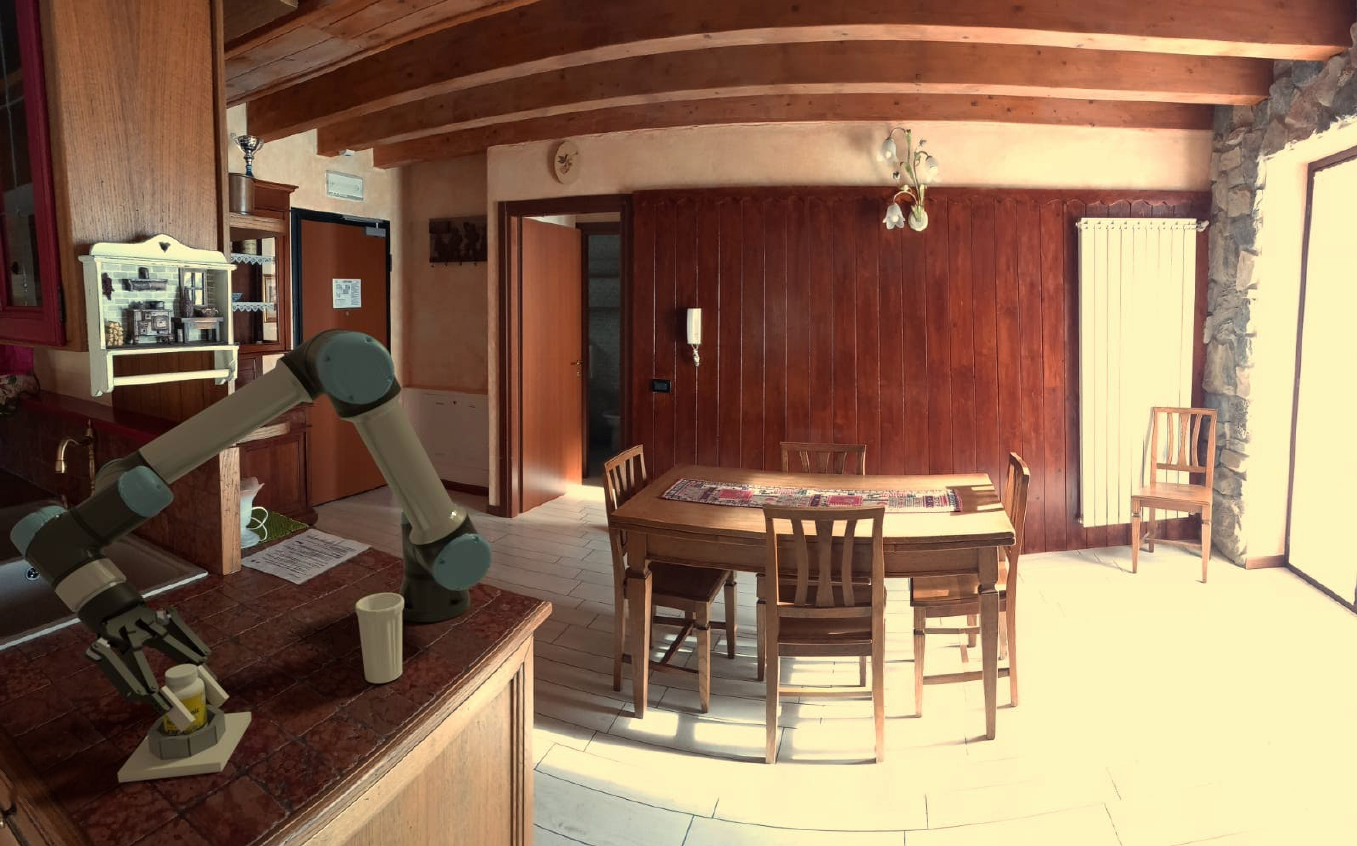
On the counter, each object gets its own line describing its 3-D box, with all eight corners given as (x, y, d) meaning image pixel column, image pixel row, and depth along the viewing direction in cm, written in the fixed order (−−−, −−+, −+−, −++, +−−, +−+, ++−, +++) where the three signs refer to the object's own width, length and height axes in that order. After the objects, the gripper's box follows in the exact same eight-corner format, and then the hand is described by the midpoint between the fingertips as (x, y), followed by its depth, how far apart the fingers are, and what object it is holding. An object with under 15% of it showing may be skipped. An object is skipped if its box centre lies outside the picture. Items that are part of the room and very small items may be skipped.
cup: (392, 690, 130) (388, 613, 127) (349, 685, 131) (345, 608, 128) (416, 667, 137) (413, 594, 135) (376, 662, 139) (372, 590, 136)
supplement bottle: (161, 744, 108) (154, 682, 107) (169, 724, 113) (162, 664, 111) (205, 736, 111) (198, 675, 109) (211, 716, 115) (205, 658, 114)
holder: (251, 719, 120) (249, 694, 119) (221, 771, 108) (218, 743, 107) (160, 728, 117) (157, 702, 116) (118, 782, 105) (115, 753, 104)
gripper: (145, 587, 121) (240, 694, 120) (25, 639, 103) (136, 765, 103) (169, 560, 119) (266, 668, 118) (50, 608, 101) (164, 736, 101)
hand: (205, 713), depth 110 cm, fingers closed on supplement bottle, 5 cm apart
